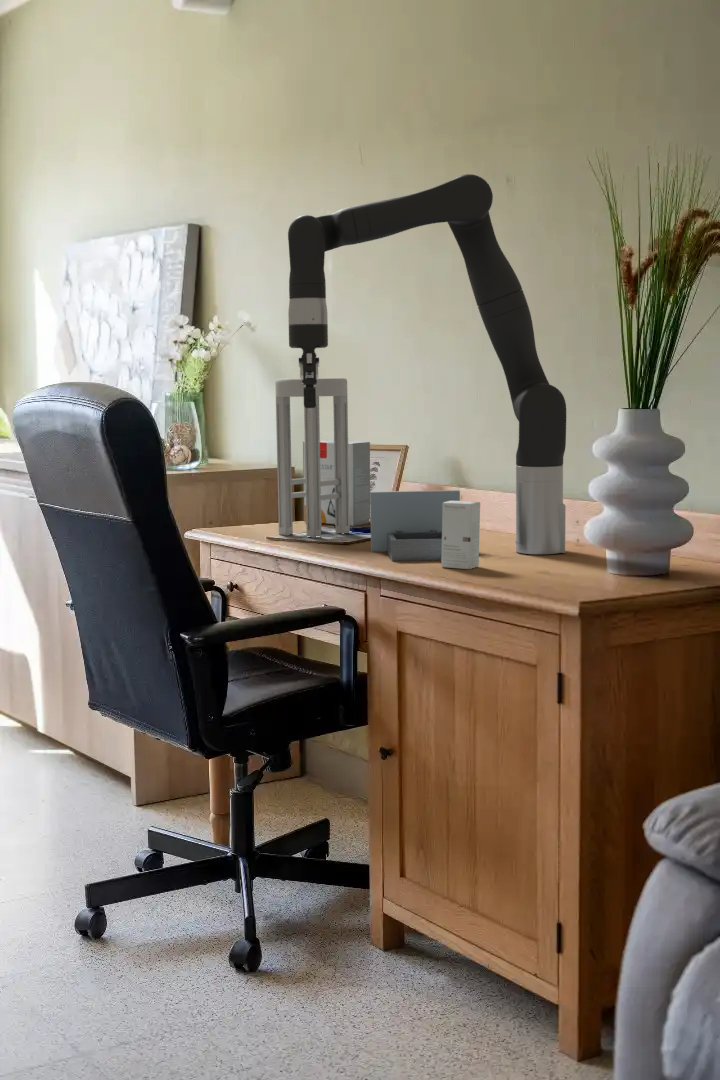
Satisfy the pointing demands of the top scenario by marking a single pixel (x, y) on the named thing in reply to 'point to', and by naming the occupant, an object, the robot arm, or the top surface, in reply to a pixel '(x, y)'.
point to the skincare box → (460, 534)
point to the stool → (312, 456)
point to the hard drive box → (357, 481)
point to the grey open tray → (414, 546)
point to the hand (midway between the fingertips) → (309, 407)
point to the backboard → (406, 513)
